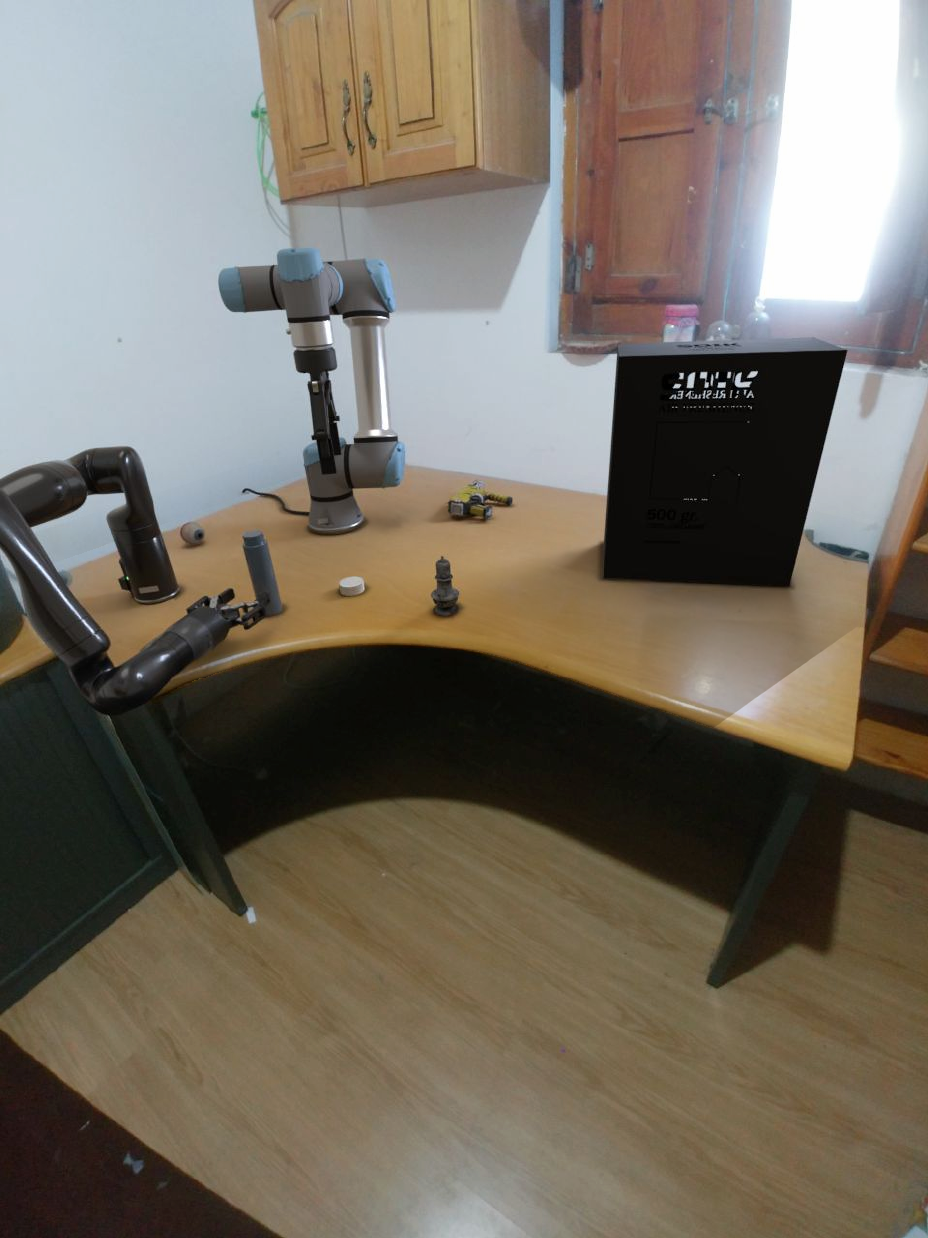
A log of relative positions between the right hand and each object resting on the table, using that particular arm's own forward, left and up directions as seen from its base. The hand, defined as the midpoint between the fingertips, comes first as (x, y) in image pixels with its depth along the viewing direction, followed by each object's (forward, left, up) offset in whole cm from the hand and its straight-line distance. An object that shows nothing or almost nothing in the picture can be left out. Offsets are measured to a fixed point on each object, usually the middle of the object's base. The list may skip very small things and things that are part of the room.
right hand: (332, 464), depth 120 cm
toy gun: (-22, +54, -28) cm, 65 cm away
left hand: (0, -22, -22) cm, 31 cm away
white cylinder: (0, 0, -26) cm, 26 cm away
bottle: (-3, -18, -28) cm, 33 cm away
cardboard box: (+40, +64, -28) cm, 81 cm away
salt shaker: (+21, +10, -28) cm, 37 cm away
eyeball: (-54, -20, -28) cm, 64 cm away
